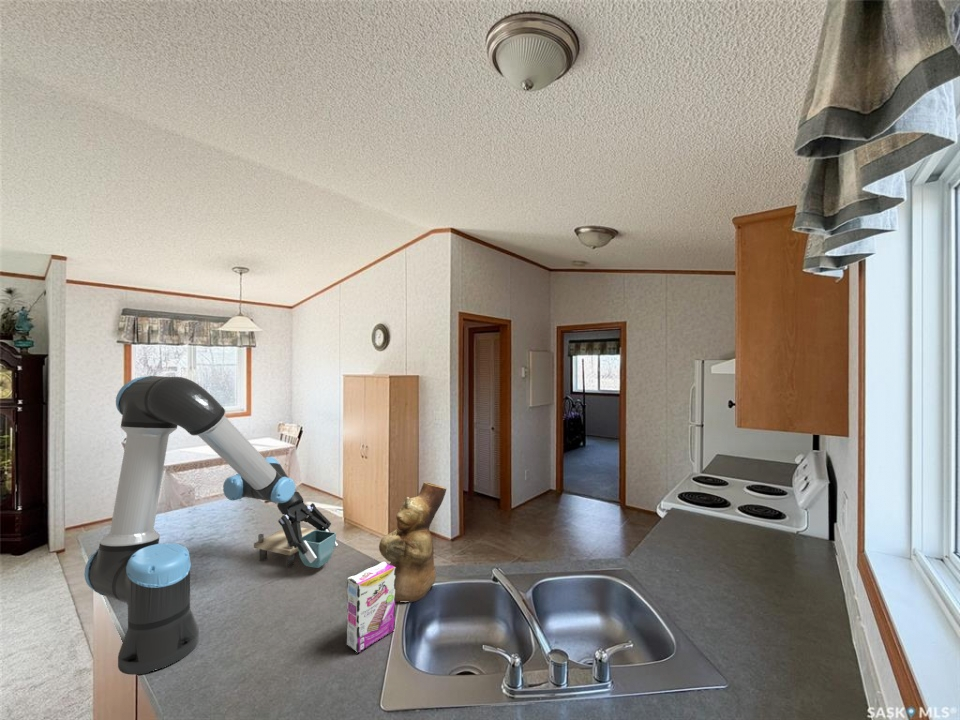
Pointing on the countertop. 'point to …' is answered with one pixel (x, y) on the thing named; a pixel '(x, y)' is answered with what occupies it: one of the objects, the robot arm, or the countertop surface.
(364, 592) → the candy bar box
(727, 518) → the countertop surface
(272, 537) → the plant stand
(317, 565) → the flower pot
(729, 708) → the countertop surface
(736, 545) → the countertop surface
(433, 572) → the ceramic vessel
